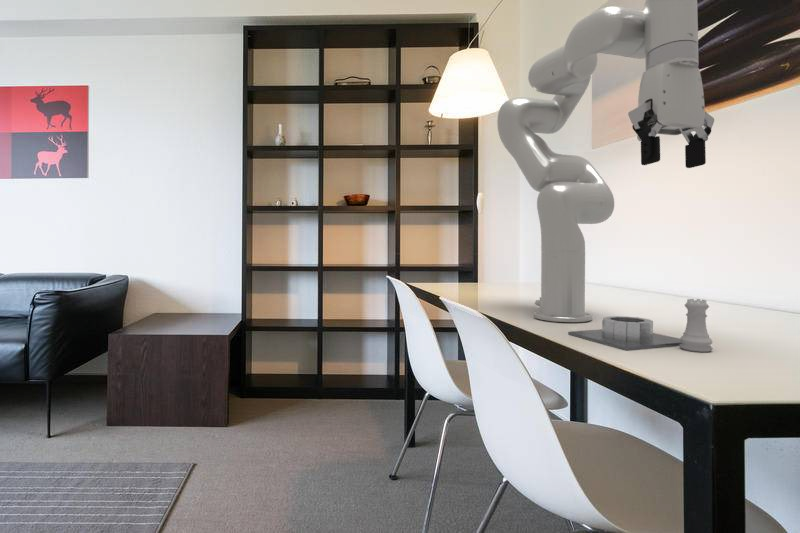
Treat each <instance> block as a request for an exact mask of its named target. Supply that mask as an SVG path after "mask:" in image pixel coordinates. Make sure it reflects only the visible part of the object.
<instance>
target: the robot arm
mask: <svg viewBox="0 0 800 533" xmlns="http://www.w3.org/2000/svg"><path fill="white" fill-rule="evenodd" d="M698 14H699V12H698V0H645V3H644V10H638V9H633V8H628V7H623V6H614V5H613V6H606V7H602V8H600V9H598V10H596V11H594V12H592V13H590V14H589V15H587V16H585V17H584V18H582V19H580V20H579V21H578V22H577V23H575V25H574V26H572V29H571V30H570V32H569V34H568V36H567V39H566V40H565V44H564V45H562V46H560V47H559V48H557V49H555V50H552V51H551V52H550V53H546V55H544V56H542V57H540V58H539V59H538V60H536V61H535V62H534V63H533V64H532V65H531V67H530V68H529V72H528V77H527V78H528V79H527V80H528V82H529V85H530V87H531V88H532V89H533V90H534V91H536V92H538V93H540V94H546V95H553V98H552V99H551V100H550V99H542V98H533V97H514V98H510V99H508V100H506V101H504V103H503V104H501V106H500V108H499V110H498V112H497V120H496V121H497V131H498V136H499V139H500V142H501V143H502V144H503V146H504V148H505V149H506V150H507V152H508V153H509V154H510V156H511V157H512V158H513V160H515V162H516V164H517V167H518V168H519V169H520V171H521V172H522V174H523V176H524V178H525V179H526V181H527V183H528V184H529V186H530V187H531V188H532V189H533V190H534V191H536V192H538V196H537V198H536V209H537V215H538V220H539V224H540V225H539V227H540V235H541V236H540V238H541V239H540V240H541V243H540V244H541V246H540V248H541V249H540V251H541V253H540V254H541V256H540V258H541V260H540V261H541V264H540V269H541V274H540V275H541V276H540V277H541V278H540V287H541V288H540V292H541V293H540V296H539V299H536V300H535V301H534V304H535V306H539V310H537V311H534V313H533V315H534V316H533V317H534V318H535V319H538V320H541V321H547V322H553V323H554V322H557V323H585V322H590V321H592V320H593V315H592V314H591V313H589V312H586V311H585V310H586V309H585V308H586V307H585V306H586V305H585V304H586V300H585V299H586V298H585V297H586V283H585V282H586V241H585V237H584V234H583V232H582V230H581V227H580V226H579V224H580V225H593V224H600V223H603V222H606V221H607V220H608V219H609V218H610V217H611V216H612V215H613V213H614V210H615V199H614V198H615V197H614V194H613V192H612V190H611V189H610V187H609V185H608V184H607V182H606V181H605V180H604V179H603V177H602V176H601V175H600V173H599V172H598V171H597V169H596V168H595V167H594V166H593V164H592V163H591V162H590V161H589V160H588V159H586V158H584V157H582V156H580V155H571V154H561V153H557V152H555V151H552V149H551V148H550V147H549V146H548V144H547V142H546V141H545V140H544V139H543V137H541V136H540V135H538V134H545V135H549V134H550V135H551V134H555V133H558V132H559V131H560V130H561V129H562V128H563V127H564V125H565V124H566V123H567V121H568V120H569V118H570V116H571V115H572V114H573V111H574V110H575V108H576V107H577V105H578V103H579V102H580V101H581V100H582V97H583V96H584V94H585V93H586V91H587V89H588V86H589V84H590V82H591V77H592V75H593V74H594V72H595V71H596V68H597V65H598V54H604V55H613V56H620V57H624V58H629V59H630V58H632V59H637V60H638V59H640V60H641V59H642V60H643V59H645V71H644V72H643V73H642V75H641V77H640V78H641V79H640V83H639V90H638V96H637V98H638V99H637V107H635V108H633V109H631V110H630V111H628V114H627V115H628V118H629V119H630V122H631V124H632V129H633V131H634V132H635V134H636V137H637V138H636V139H637V140H638V141H639V142H640V164H641V165H642V166H648V165H651V164H654V163H659V162H660V161H661V138H660V135H664V136H678V135H681V134H682V137H684V139H685V141H686V142H687V144H685V146H684V150H685V152H684V157H685V161H684V162H685V167H686V168H687V169H691V168H697V167H699V166H700V167H701V166H703V165H705V164H706V161H707V160H706V158H707V157H706V155H707V154H706V142H707V141H708V140H709V136H710V135H711V133H712V128H713V126H714V123H715V118H714V117H713V116H711V114H709V113H708V112H707V111H706V110H705V108H706V107H705V96H704V95H705V93H704V87H703V81H702V75H701V71H700V70H701V69H700V68H699V65H700V64H699V22H698V20H699V18H698ZM692 132H695V134H693V133H692Z"/></svg>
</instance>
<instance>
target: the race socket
mask: <svg viewBox="0 0 800 533" xmlns="http://www.w3.org/2000/svg"><path fill="white" fill-rule="evenodd" d="M601 326H602V327H601V328H599V329H588V330H587V329H586V330H576V331H575V330H574V331H571V330H570V331H568V332H567V335H570V336H573V337H577V338H579V339H580V338H581V339H583V340H586V341H587V340H588V341H590V342H594V343H597V344H602V345H606V346H609V347H612V348H616V349H619V350H623V351H636V350H648V349H657V348H667V347H670V348H671V347H678V346H679V347H680V344H682V342H681V340H680V338H678V337H673V336H670V335H664V334H660V333H656V332H654V321H653V320H651V319H650V318H643V317H638V316H637V317H636V316H624V315H623V316H621V315H620V316H618V315H614V316H613V315H611V316H604V317H602V320H601Z"/></svg>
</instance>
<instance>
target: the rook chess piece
mask: <svg viewBox="0 0 800 533" xmlns="http://www.w3.org/2000/svg"><path fill="white" fill-rule="evenodd" d="M684 307H685V308H686V309H687V313H686V314H685V315H686V321H687V322H686V326H685V330H684V332H683V334H682V335H681V337H680V338H679V339H680V340H681V342H682V344H680V346H679V347H680V348H681V349H682V350H684V351H688V352H694V353H710V352H711V351H712V350H713V347H712V346H711V345H712V344H713V340H712V338H710V335H709V334H708V333H709V332H708V329H707V323H706V318H707V317H708V315H707V312H706V311H707V310H708V309H709V308H710V306H709V305H708V304H707V300H706V299H700V298H696V300H695V299H694V298H688V299H687V300H686V302H685V304H684Z"/></svg>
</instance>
